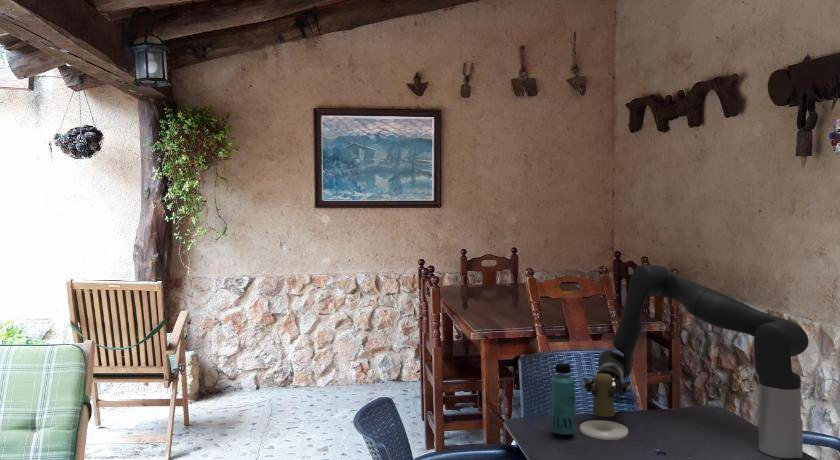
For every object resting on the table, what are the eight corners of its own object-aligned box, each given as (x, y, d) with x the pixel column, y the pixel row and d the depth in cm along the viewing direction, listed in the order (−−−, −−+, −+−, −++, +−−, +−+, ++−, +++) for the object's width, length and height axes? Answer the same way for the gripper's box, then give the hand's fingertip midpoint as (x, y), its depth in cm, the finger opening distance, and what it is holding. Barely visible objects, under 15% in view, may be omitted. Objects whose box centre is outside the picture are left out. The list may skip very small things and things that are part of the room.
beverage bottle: (548, 438, 167) (547, 365, 166) (555, 430, 173) (554, 360, 172) (572, 441, 164) (571, 368, 163) (578, 433, 170) (577, 362, 169)
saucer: (630, 426, 174) (630, 423, 174) (626, 442, 163) (626, 439, 162) (583, 421, 180) (583, 418, 180) (576, 436, 168) (576, 432, 168)
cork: (616, 417, 168) (615, 377, 167) (593, 416, 169) (592, 376, 168) (613, 409, 173) (613, 371, 173) (591, 408, 175) (591, 370, 174)
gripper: (585, 363, 188) (576, 377, 172) (634, 367, 182) (629, 382, 166) (585, 387, 188) (576, 404, 172) (634, 392, 182) (629, 410, 166)
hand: (602, 393), depth 169 cm, fingers closed on cork, 3 cm apart
